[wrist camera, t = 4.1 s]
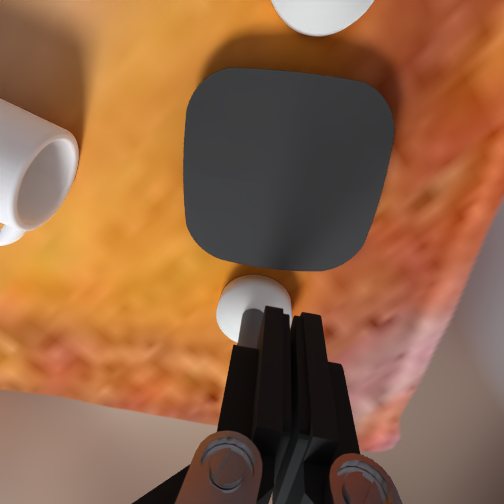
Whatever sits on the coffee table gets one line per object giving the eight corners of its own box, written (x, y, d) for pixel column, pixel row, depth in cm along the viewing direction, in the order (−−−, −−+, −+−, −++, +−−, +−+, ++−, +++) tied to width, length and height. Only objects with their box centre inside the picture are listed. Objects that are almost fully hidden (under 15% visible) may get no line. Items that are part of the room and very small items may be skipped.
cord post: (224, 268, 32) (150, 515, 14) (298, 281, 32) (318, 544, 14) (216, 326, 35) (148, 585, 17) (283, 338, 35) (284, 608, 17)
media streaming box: (192, 61, 24) (181, 59, 22) (399, 82, 24) (413, 84, 21) (190, 243, 31) (182, 259, 29) (351, 263, 31) (357, 281, 28)
